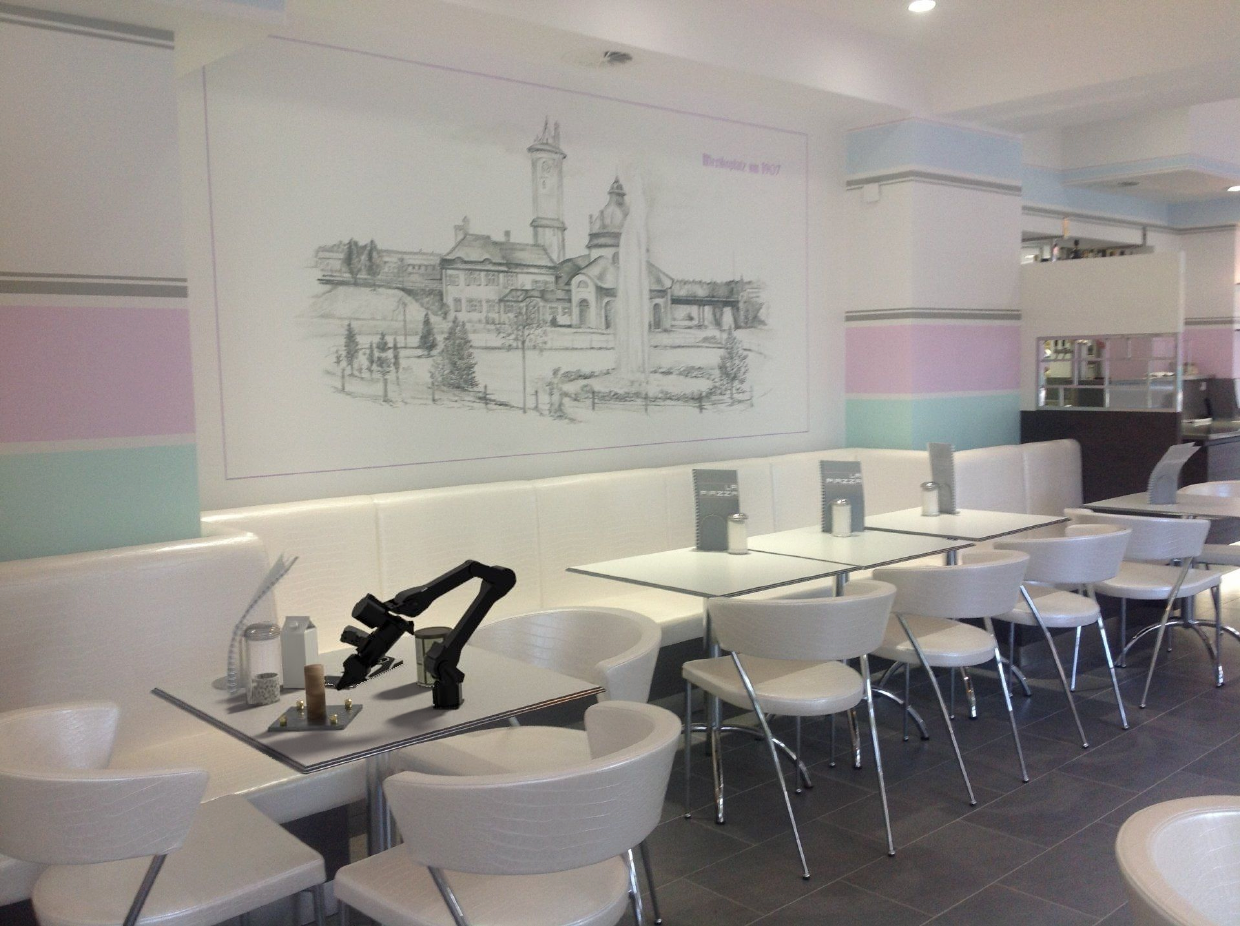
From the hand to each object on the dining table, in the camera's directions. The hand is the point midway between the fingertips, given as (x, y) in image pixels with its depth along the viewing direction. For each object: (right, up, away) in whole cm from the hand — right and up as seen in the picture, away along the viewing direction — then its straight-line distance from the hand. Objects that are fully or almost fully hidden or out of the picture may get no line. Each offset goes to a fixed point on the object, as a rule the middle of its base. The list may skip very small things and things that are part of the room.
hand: (342, 684), depth 255 cm
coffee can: (+18, -6, +29) cm, 35 cm away
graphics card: (-4, -6, +40) cm, 40 cm away
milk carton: (-19, -7, +32) cm, 38 cm away
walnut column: (-6, -8, 0) cm, 10 cm away
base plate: (-6, -9, +1) cm, 11 cm away
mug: (-25, -9, +16) cm, 31 cm away
